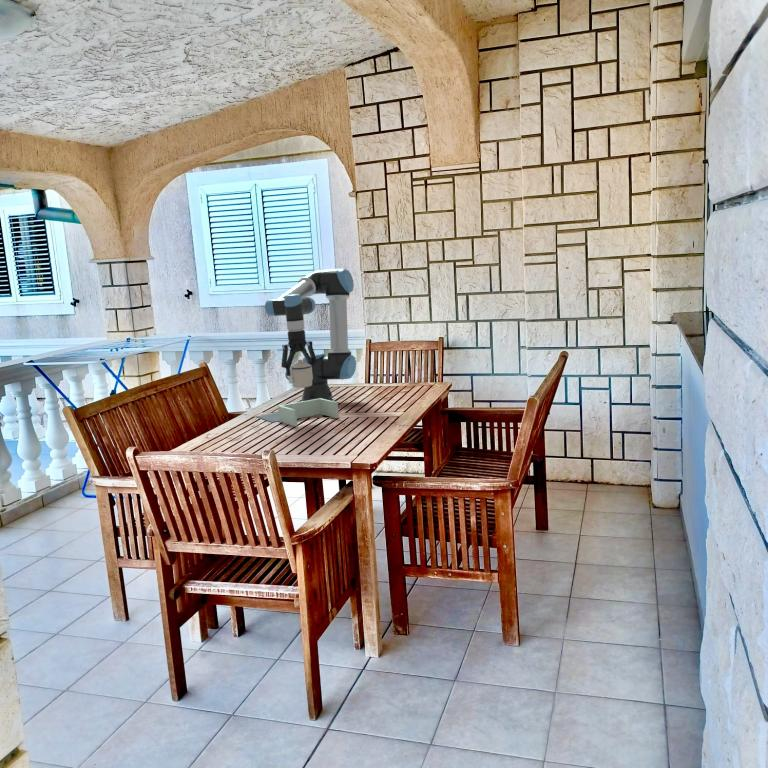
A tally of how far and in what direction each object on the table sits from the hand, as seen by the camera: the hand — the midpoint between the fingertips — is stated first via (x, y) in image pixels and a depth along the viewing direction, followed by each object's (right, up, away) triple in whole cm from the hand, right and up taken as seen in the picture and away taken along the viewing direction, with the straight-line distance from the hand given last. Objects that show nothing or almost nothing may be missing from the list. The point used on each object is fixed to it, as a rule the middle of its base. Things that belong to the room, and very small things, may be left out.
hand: (301, 381), depth 324 cm
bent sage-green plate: (+4, -17, 0) cm, 17 cm away
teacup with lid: (-1, -2, 0) cm, 2 cm away
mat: (-10, -16, +12) cm, 23 cm away
